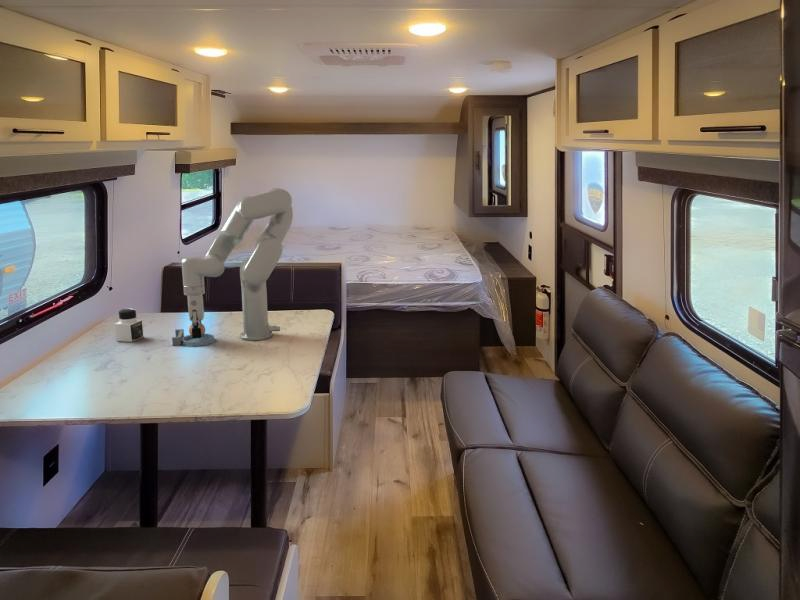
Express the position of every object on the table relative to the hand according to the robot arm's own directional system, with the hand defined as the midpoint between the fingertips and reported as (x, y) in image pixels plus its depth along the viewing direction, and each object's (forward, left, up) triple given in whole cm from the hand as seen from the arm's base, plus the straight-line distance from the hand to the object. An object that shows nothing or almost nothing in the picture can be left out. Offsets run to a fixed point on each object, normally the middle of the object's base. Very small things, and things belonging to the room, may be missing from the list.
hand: (197, 335), depth 225 cm
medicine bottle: (+26, -10, -3) cm, 28 cm away
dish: (0, 0, -3) cm, 3 cm away
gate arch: (+6, -3, -3) cm, 8 cm away
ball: (0, 0, -1) cm, 1 cm away
